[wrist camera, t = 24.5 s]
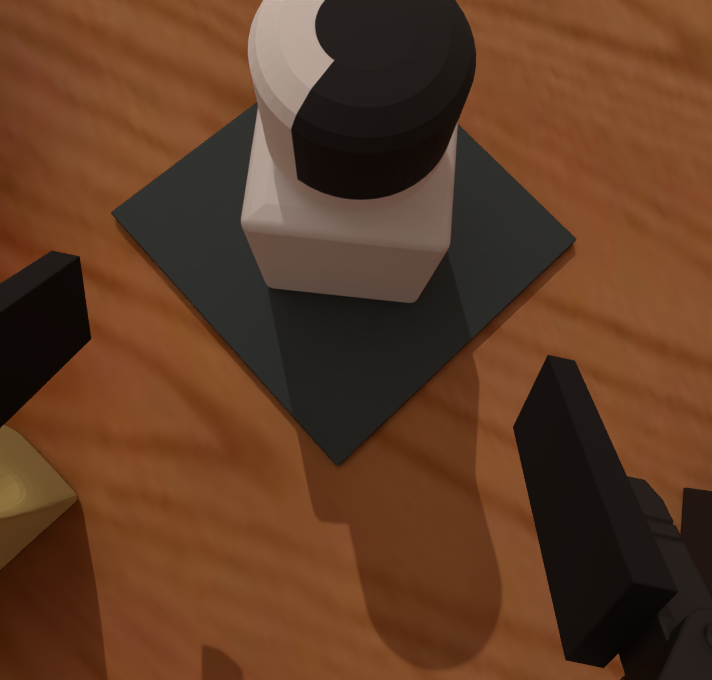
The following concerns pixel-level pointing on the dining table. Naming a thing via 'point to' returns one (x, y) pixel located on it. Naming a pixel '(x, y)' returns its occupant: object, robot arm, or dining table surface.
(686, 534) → the lidded grey box
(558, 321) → the dining table surface
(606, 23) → the dining table surface
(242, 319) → the mat
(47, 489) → the cheese
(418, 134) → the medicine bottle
